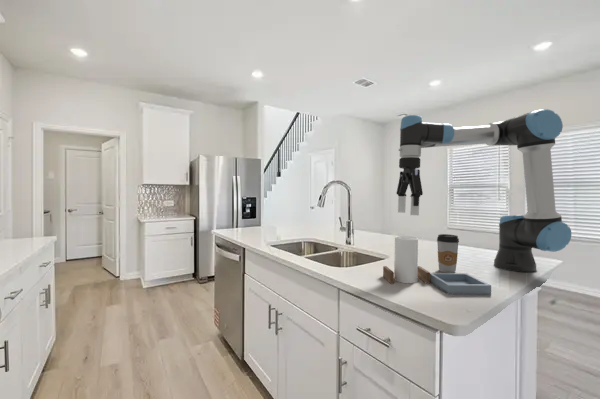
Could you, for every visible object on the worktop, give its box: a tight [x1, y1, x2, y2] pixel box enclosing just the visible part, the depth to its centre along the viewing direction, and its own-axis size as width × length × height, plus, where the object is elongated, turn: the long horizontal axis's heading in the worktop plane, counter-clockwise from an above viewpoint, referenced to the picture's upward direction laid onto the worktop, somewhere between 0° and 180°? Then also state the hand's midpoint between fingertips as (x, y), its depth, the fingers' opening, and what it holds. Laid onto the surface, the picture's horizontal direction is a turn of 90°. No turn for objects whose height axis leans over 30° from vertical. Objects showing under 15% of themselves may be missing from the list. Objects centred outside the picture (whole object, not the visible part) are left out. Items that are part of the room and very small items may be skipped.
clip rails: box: [382, 265, 431, 284], centre depth 112 cm, size 14×9×4 cm, turn 91°
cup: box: [393, 235, 419, 284], centre depth 112 cm, size 8×8×16 cm
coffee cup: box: [436, 233, 460, 273], centre depth 124 cm, size 8×8×15 cm
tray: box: [430, 272, 492, 296], centre depth 104 cm, size 14×14×3 cm
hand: (407, 213), depth 113 cm, fingers open, 13 cm apart
